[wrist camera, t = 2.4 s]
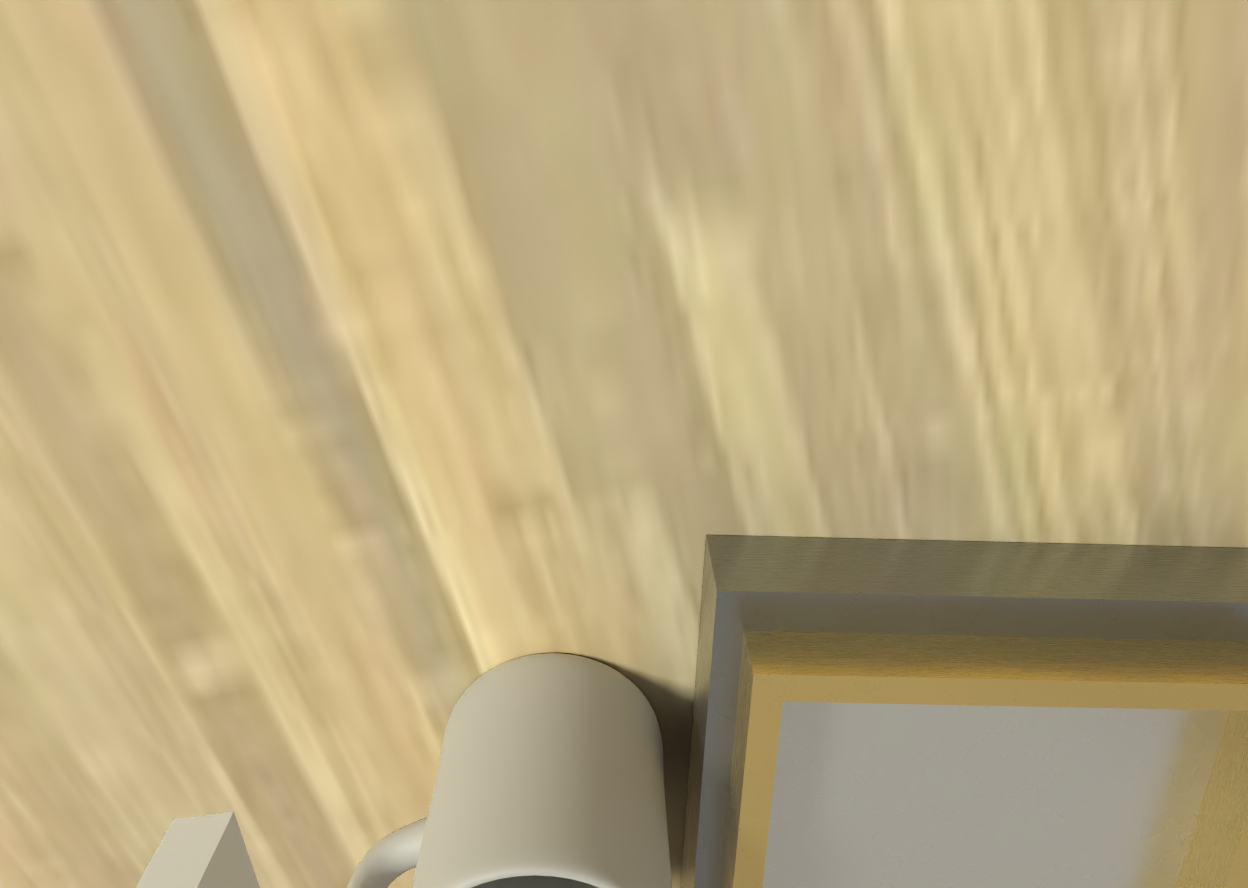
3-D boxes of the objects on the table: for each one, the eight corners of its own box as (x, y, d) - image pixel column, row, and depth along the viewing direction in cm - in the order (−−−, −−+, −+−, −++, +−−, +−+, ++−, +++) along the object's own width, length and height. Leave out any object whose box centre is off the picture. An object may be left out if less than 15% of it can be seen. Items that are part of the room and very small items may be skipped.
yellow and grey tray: (676, 946, 45) (687, 1088, 39) (706, 534, 38) (724, 632, 32) (1191, 953, 46) (1279, 1094, 40) (1320, 549, 39) (1452, 647, 33)
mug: (613, 619, 39) (615, 828, 29) (692, 787, 42) (720, 1031, 32) (328, 721, 41) (235, 954, 31) (424, 877, 44) (370, 1136, 34)
